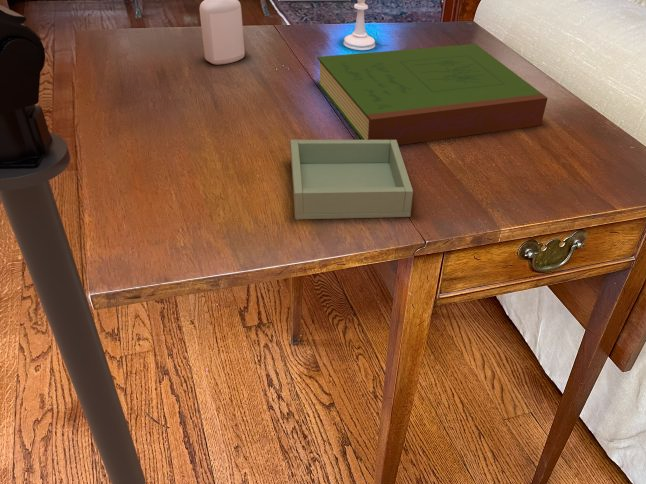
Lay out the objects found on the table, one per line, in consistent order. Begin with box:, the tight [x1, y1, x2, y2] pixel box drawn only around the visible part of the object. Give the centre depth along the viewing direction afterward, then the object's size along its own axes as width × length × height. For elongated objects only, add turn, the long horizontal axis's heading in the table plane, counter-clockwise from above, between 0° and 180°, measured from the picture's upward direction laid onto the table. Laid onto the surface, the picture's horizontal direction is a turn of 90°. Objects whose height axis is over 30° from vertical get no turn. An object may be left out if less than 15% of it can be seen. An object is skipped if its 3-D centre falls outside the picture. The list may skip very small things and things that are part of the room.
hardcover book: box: [317, 43, 549, 146], centre depth 84 cm, size 25×19×4 cm
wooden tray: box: [290, 139, 414, 221], centre depth 67 cm, size 12×11×3 cm
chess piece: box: [343, 0, 376, 51], centre depth 96 cm, size 5×5×10 cm
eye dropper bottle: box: [199, 0, 246, 65], centre depth 87 cm, size 4×6×12 cm
